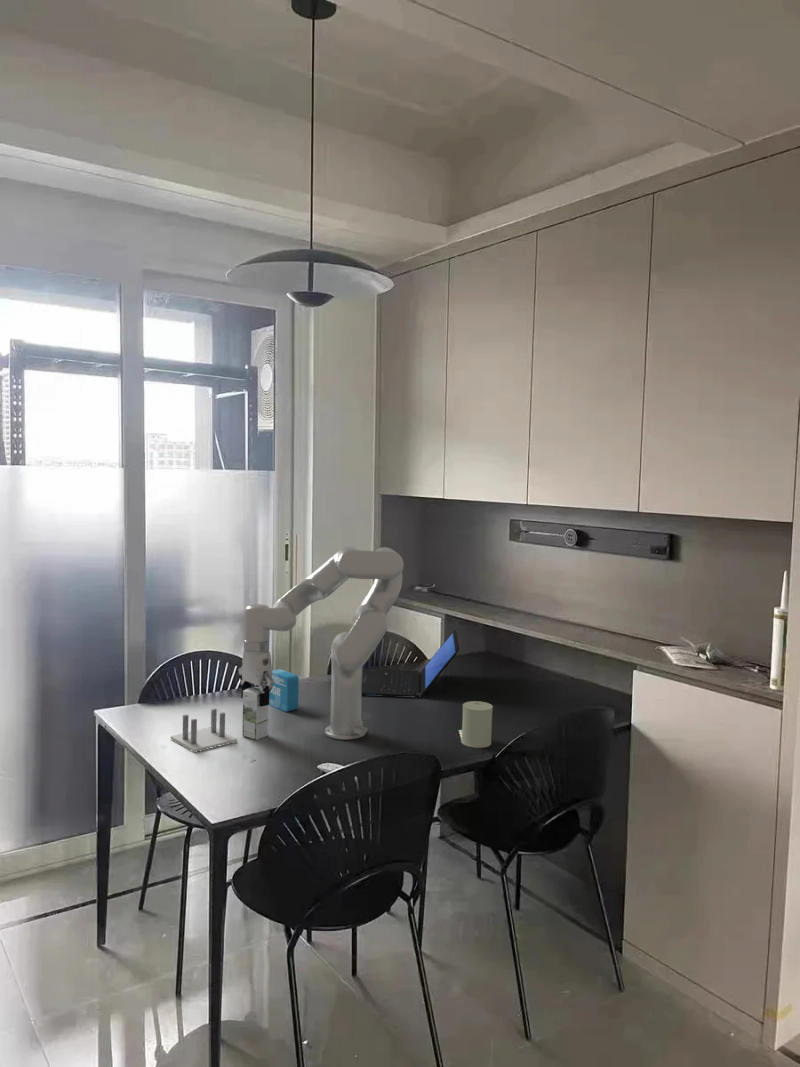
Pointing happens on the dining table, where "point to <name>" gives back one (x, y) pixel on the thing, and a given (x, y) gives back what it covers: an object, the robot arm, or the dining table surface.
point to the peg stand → (204, 734)
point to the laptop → (409, 674)
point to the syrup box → (254, 715)
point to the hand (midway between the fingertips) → (255, 701)
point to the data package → (284, 690)
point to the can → (477, 724)
